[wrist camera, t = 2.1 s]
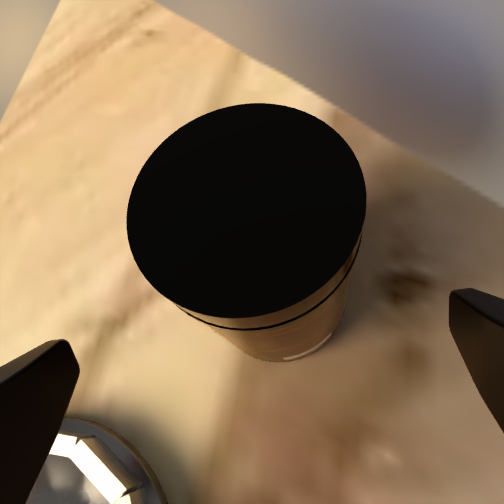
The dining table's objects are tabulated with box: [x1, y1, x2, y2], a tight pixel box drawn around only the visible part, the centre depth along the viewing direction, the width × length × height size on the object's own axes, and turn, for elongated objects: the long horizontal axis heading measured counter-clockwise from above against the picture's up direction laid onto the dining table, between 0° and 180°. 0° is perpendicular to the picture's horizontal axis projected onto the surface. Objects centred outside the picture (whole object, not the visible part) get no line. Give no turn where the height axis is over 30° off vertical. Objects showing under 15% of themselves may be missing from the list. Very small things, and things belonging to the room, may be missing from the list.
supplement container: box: [127, 103, 366, 362], centre depth 15 cm, size 7×7×10 cm
